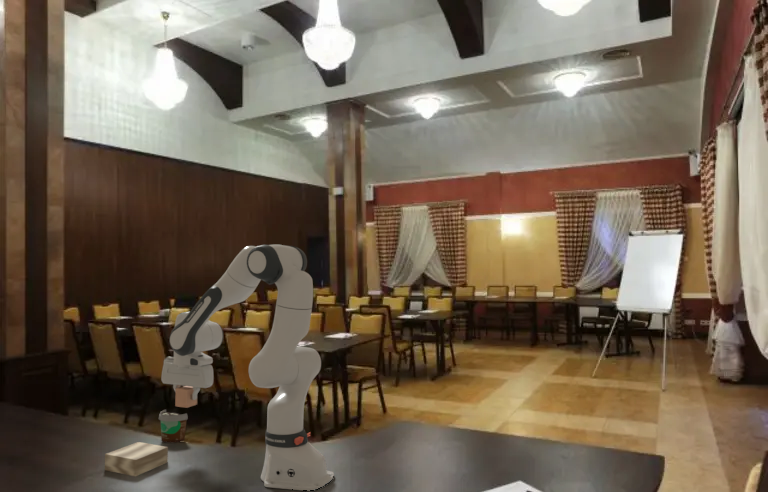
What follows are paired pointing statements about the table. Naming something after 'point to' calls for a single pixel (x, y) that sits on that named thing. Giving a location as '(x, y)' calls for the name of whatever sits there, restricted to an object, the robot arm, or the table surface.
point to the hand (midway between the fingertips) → (186, 398)
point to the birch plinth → (136, 458)
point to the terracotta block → (184, 397)
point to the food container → (172, 426)
